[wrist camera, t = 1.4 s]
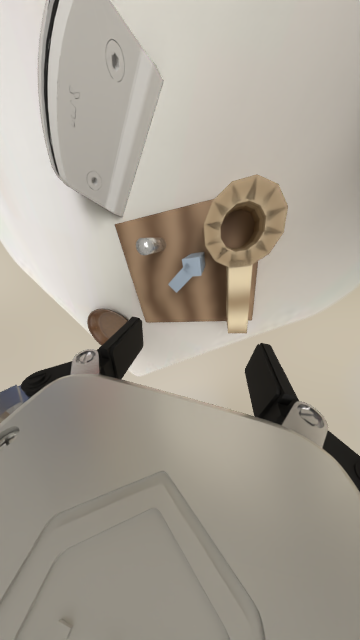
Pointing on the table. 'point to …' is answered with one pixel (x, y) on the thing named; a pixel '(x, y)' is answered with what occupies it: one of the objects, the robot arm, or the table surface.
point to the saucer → (104, 324)
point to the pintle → (150, 245)
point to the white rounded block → (94, 98)
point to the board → (160, 268)
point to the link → (268, 228)
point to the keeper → (188, 270)
